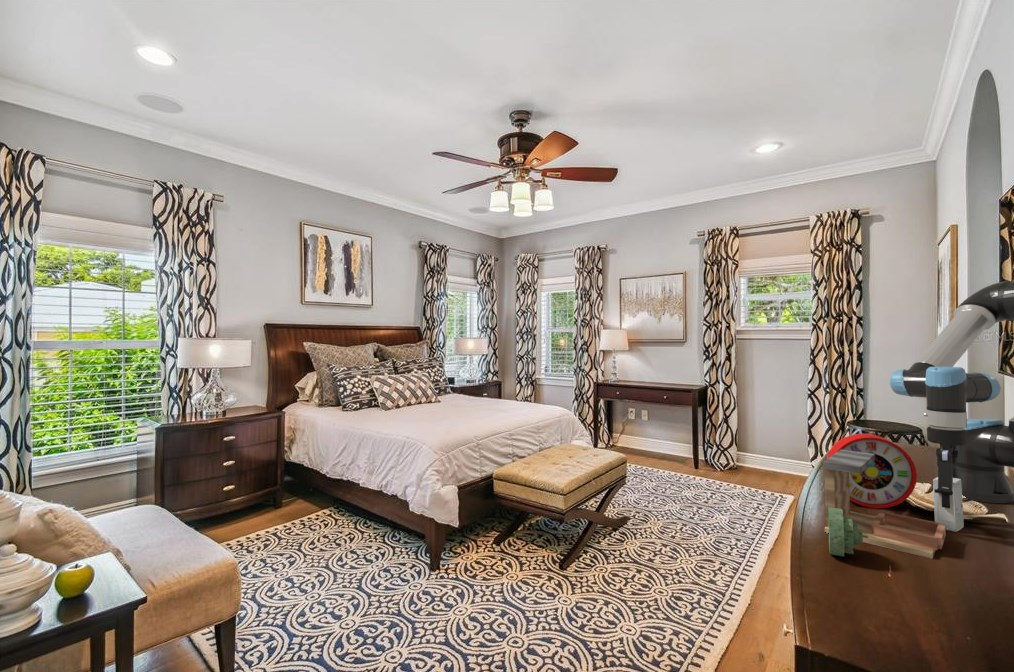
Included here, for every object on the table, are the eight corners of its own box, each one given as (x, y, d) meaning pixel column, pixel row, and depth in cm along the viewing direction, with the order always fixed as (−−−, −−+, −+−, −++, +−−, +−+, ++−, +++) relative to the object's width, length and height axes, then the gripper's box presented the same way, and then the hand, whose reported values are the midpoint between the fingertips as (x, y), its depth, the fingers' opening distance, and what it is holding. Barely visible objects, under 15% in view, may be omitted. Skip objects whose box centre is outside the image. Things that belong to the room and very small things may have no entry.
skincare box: (957, 532, 117) (955, 483, 117) (933, 526, 120) (932, 479, 120) (964, 527, 120) (963, 479, 120) (941, 521, 124) (940, 475, 124)
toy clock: (831, 504, 138) (830, 435, 138) (826, 497, 143) (825, 431, 143) (918, 512, 130) (916, 439, 130) (909, 505, 136) (907, 435, 136)
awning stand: (841, 513, 130) (840, 449, 130) (947, 536, 114) (945, 463, 115) (824, 532, 118) (823, 461, 118) (939, 560, 102) (938, 478, 102)
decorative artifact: (828, 544, 111) (827, 501, 111) (866, 551, 107) (865, 507, 107) (830, 561, 103) (829, 515, 103) (870, 569, 99) (869, 521, 99)
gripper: (931, 420, 131) (933, 499, 131) (921, 432, 115) (923, 522, 115) (969, 423, 126) (971, 505, 126) (964, 436, 110) (966, 531, 109)
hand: (948, 513), depth 120 cm, fingers open, 11 cm apart
